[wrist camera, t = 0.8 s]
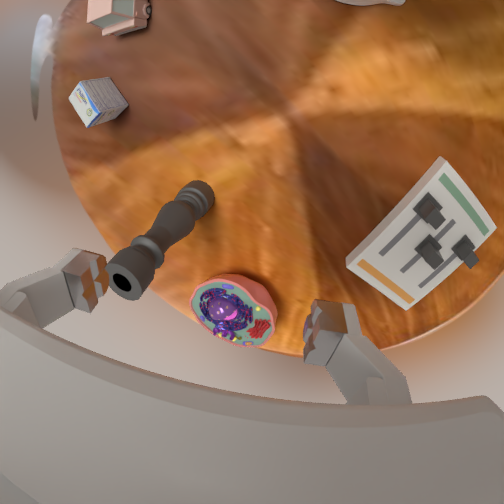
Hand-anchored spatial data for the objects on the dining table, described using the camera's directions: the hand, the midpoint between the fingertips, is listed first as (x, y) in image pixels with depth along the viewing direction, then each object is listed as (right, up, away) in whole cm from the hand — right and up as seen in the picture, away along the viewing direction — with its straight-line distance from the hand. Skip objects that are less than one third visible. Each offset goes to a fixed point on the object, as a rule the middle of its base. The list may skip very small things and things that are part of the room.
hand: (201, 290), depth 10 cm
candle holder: (-8, +12, +40) cm, 43 cm away
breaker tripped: (+33, +2, +32) cm, 46 cm away
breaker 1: (+30, +9, +28) cm, 42 cm away
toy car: (-19, +46, +19) cm, 54 cm away
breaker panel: (+33, +4, +34) cm, 48 cm away
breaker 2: (+40, +2, +29) cm, 50 cm away
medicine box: (-24, +31, +32) cm, 51 cm away
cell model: (0, -7, +52) cm, 52 cm away
